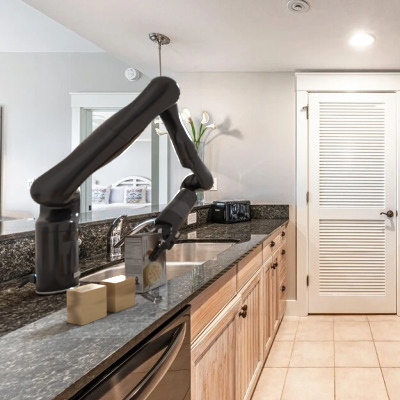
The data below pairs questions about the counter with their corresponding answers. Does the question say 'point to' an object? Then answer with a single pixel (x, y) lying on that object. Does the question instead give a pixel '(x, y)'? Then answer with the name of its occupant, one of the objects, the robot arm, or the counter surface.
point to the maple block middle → (119, 293)
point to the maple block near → (86, 304)
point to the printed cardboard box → (144, 261)
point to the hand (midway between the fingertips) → (141, 259)
